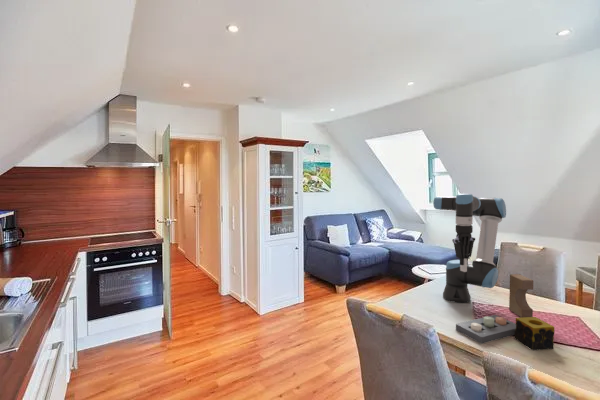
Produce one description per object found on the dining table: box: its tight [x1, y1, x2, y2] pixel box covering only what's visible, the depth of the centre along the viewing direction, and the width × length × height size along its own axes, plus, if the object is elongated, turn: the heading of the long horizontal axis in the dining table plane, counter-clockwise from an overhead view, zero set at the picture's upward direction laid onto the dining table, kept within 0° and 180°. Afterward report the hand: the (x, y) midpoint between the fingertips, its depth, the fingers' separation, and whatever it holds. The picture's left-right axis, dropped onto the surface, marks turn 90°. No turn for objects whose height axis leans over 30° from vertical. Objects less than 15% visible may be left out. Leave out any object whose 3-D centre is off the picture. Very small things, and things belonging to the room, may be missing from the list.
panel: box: [455, 314, 516, 345], centre depth 149 cm, size 14×26×3 cm, turn 110°
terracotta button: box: [496, 316, 507, 326], centre depth 152 cm, size 4×4×4 cm
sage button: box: [483, 315, 494, 329], centre depth 149 cm, size 4×4×4 cm
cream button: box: [471, 323, 482, 332], centre depth 146 cm, size 4×4×4 cm
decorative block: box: [508, 273, 534, 318], centre depth 167 cm, size 11×6×20 cm, turn 177°
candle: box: [513, 316, 555, 351], centre depth 137 cm, size 10×10×10 cm
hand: (463, 271), depth 158 cm, fingers closed
